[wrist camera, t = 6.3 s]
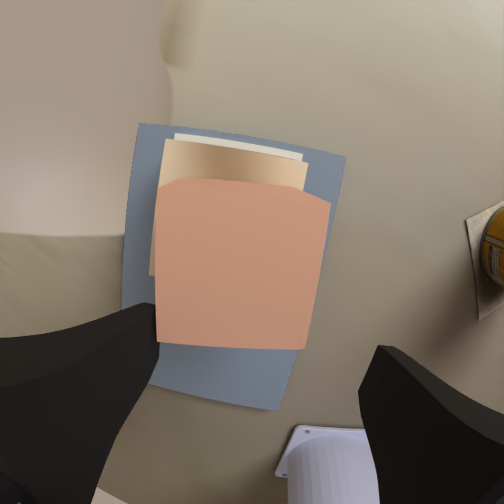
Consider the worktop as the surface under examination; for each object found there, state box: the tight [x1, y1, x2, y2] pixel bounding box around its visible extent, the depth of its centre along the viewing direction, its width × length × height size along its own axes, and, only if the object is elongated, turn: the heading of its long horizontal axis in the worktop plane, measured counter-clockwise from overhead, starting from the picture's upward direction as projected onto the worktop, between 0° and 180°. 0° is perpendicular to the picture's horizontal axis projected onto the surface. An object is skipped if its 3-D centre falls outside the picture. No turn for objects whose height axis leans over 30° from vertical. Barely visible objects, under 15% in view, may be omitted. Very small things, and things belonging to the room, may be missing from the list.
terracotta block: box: [155, 177, 331, 350], centre depth 11 cm, size 4×4×5 cm
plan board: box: [122, 123, 346, 411], centre depth 19 cm, size 12×18×1 cm, turn 169°
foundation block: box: [149, 139, 308, 276], centre depth 15 cm, size 6×6×4 cm
